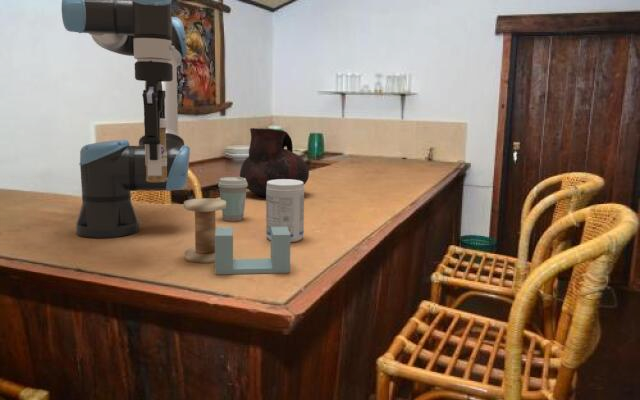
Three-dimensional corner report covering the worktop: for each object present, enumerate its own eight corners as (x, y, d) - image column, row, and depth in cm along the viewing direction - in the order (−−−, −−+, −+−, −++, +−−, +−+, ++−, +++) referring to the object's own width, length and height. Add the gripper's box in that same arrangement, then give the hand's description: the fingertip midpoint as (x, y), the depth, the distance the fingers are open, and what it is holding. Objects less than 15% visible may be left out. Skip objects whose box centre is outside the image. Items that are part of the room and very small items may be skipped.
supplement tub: (285, 232, 143) (286, 177, 140) (311, 239, 136) (312, 182, 134) (258, 238, 136) (258, 181, 133) (283, 245, 130) (284, 185, 127)
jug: (320, 194, 202) (322, 128, 197) (281, 204, 181) (282, 130, 176) (268, 187, 215) (268, 125, 210) (225, 196, 194) (225, 126, 189)
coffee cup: (242, 223, 151) (242, 181, 149) (213, 221, 153) (213, 180, 151) (251, 217, 160) (251, 177, 158) (224, 215, 161) (224, 176, 159)
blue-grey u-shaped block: (215, 274, 107) (214, 235, 105) (216, 264, 114) (216, 227, 112) (289, 272, 109) (290, 234, 108) (286, 262, 116) (287, 226, 115)
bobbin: (183, 263, 114) (181, 206, 111) (186, 251, 122) (185, 198, 120) (225, 262, 115) (225, 205, 113) (226, 250, 124) (226, 198, 121)
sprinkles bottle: (156, 183, 112) (154, 118, 109) (141, 181, 114) (138, 117, 112) (172, 181, 116) (171, 118, 113) (157, 178, 118) (155, 117, 115)
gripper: (166, 59, 102) (169, 180, 107) (177, 64, 119) (179, 168, 124) (125, 57, 101) (130, 179, 106) (142, 63, 118) (145, 168, 123)
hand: (156, 173), depth 115 cm, fingers closed on sprinkles bottle, 4 cm apart
